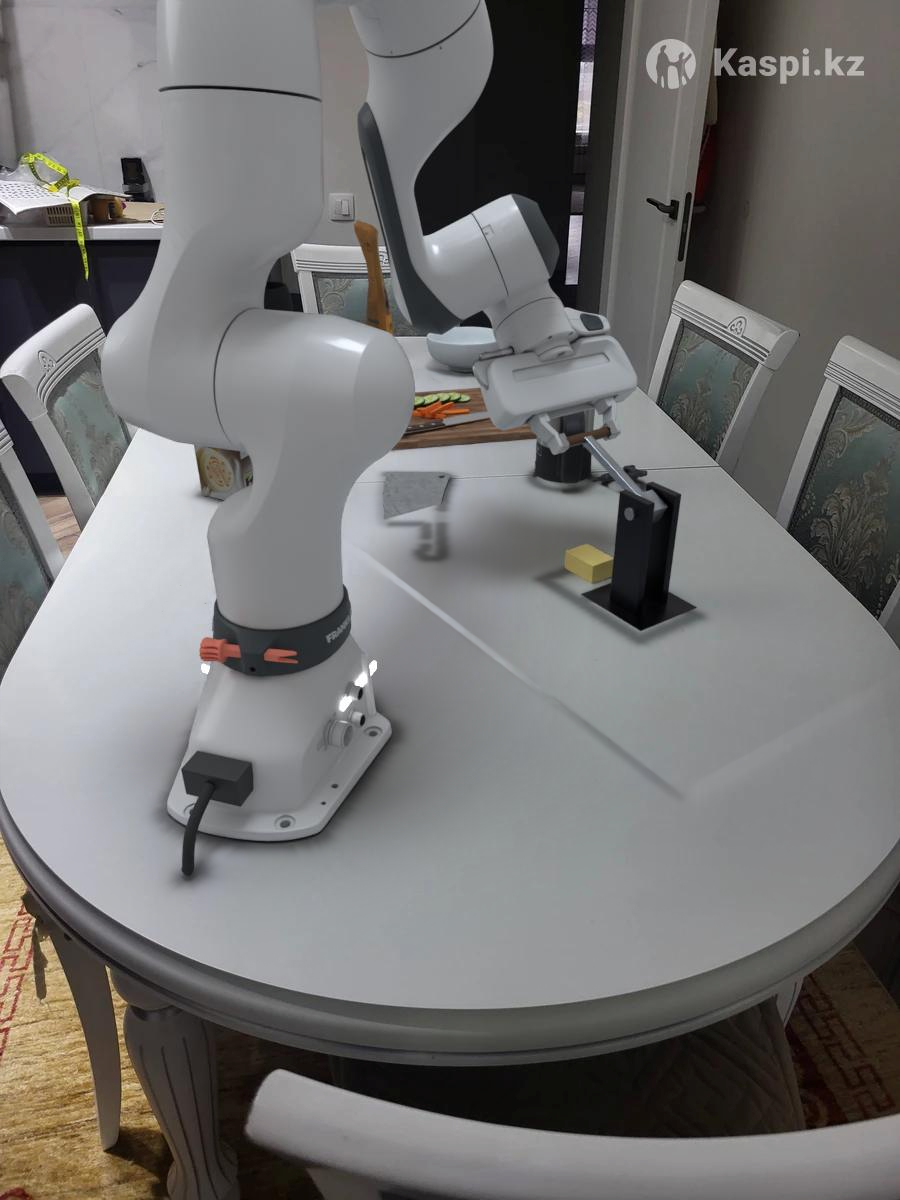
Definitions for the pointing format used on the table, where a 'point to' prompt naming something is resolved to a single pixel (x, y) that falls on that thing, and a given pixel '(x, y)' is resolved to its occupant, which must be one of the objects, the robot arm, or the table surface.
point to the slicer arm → (615, 467)
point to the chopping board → (454, 421)
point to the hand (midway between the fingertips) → (588, 444)
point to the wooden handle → (374, 279)
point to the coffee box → (223, 471)
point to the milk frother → (572, 453)
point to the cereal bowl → (461, 346)
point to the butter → (589, 563)
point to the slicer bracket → (643, 562)
